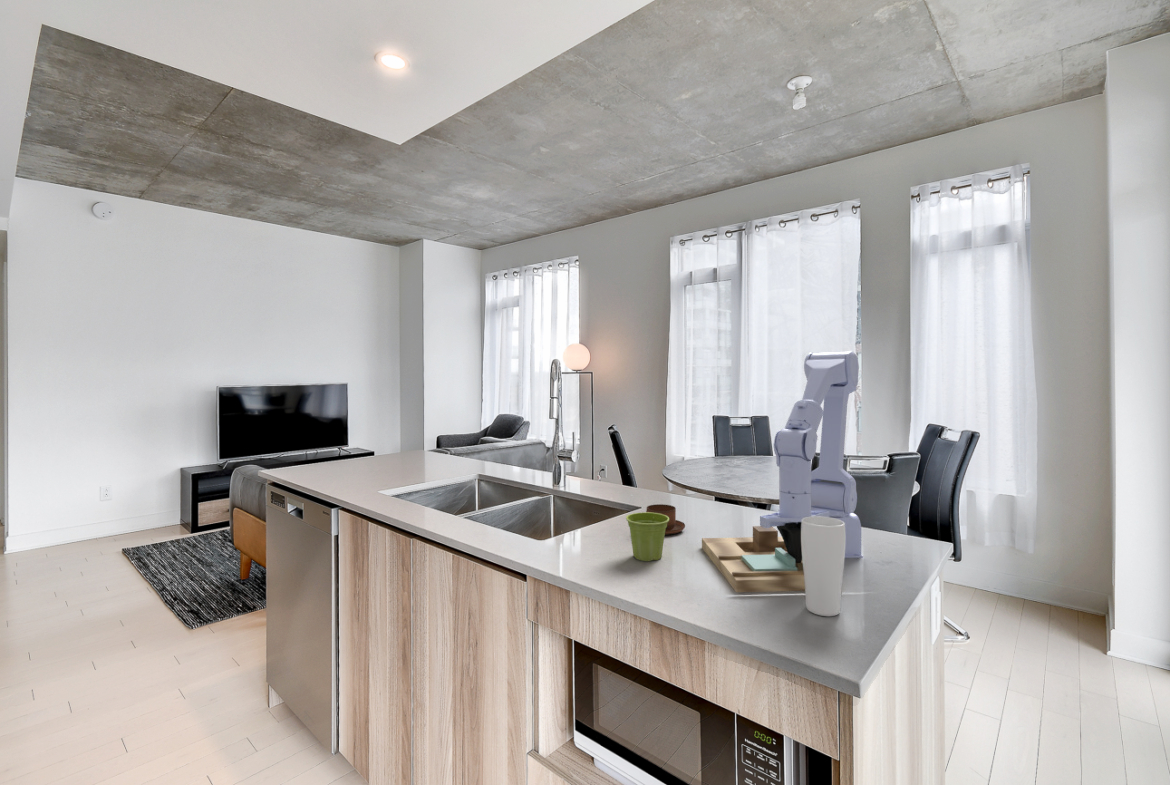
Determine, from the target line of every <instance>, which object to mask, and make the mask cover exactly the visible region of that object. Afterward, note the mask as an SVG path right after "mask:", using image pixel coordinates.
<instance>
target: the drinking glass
mask: <svg viewBox="0 0 1170 785" xmlns="http://www.w3.org/2000/svg"><path fill="white" fill-rule="evenodd" d="M845 543H846V537H845V523H844V522H843V521H841V520H839V519H835V518H830V517H822V516H810V517H805V518H803V519H802V520H801V550H802V561H803V572H804V583H805V591H804V593H805V608H806V609H807V610H808V611H809V612H810V613H812V614H814V615H817V616H819V617H820V616H822V617H836V616H838V615H839V614H840V613H841V606H842V605H841V604H842V603H841V600H842V589H843V588H842V587H843V578H844V570H845V569H844V568H845V560H846V558H845Z"/></svg>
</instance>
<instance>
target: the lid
mask: <svg viewBox="0 0 1170 785" xmlns="http://www.w3.org/2000/svg"><path fill="white" fill-rule="evenodd" d="M741 559H742V560H743V561H744V562H745V564H746V565H747V566H748V567H749V568H750V569H751V570H752V571H798V568H797V567H796V566H795V559H794V558H793V557H792V556H791V555H789V554H788V553H787V552H786V551H784V550H783V549H782V548H775V555H741Z"/></svg>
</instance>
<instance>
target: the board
mask: <svg viewBox="0 0 1170 785" xmlns="http://www.w3.org/2000/svg"><path fill="white" fill-rule="evenodd" d="M701 548H702V550H703V551H704V553H705V554H706V555H707V557H709V559H710V560H711V561H712V563H713V564H714V566H715V567H716V568H717V570H719V572H720V573H721V574H722V575H723V577H724V578H725V579H726V581H727V582H728V584H730V586H731V587H732V588H733V590H734V591H735V592H736V593H755V592H756V593H760V592H764V593H765V592H802V591H804V592H805V583H804V572H803V561H801V563H795V566H796V567H797V568H798V571H752V570H751V569H750V568H749V567H748V566H747V565H746V564H745V562H744V561H743V560H742V559H741V555H775V552H753V536H752V537H745V536H744V537H707V538H706V537H705V538H703V537H702V538H701ZM778 548H782V549H783V550H784V551H786V552H787V549H786V546H785V543H784V540H783V538H782V536H778Z"/></svg>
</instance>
